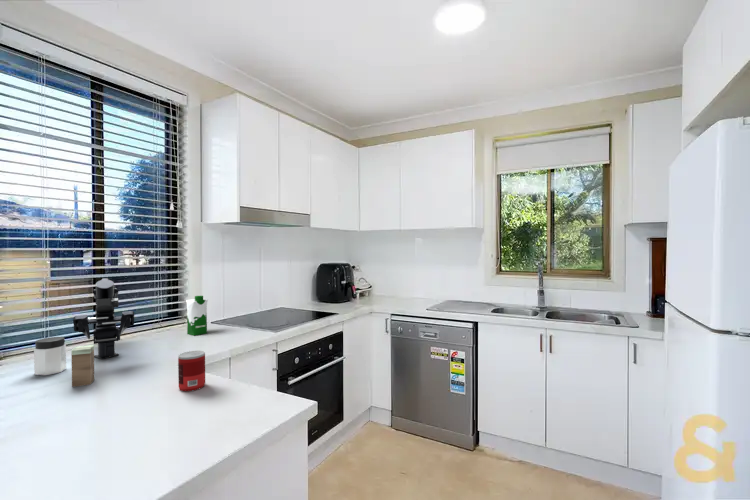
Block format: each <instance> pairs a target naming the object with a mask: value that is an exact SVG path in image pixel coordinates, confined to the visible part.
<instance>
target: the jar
mask: <svg viewBox="0 0 750 500" xmlns="http://www.w3.org/2000/svg"><path fill="white" fill-rule="evenodd" d="M34 342H35V348H34V349H33V359H34V360H33V364H34V365H33V370H34V376H49V375H55V374H58V373H62V372H63V371H65V370H66V369H67V344H66V340H65V336H64V337H63V336H52V337H45V338H41V339H37V340H35V341H34Z"/></svg>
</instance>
